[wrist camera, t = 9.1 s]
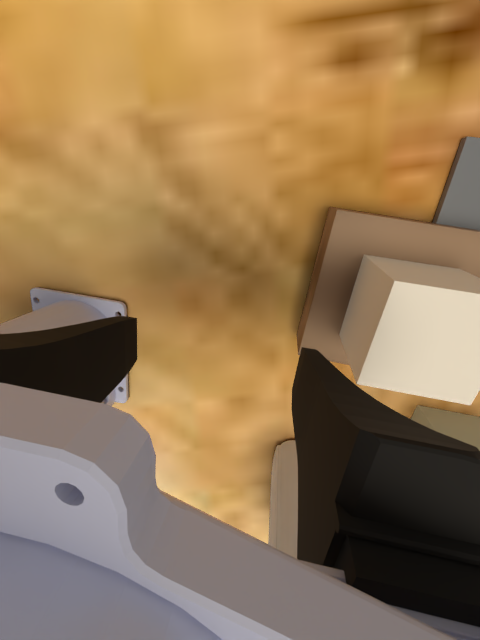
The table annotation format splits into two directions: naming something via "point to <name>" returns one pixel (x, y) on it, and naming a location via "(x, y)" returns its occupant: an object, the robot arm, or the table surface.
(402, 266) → the cream cube
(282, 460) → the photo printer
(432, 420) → the sage cube
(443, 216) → the card
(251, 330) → the table surface
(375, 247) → the walnut base
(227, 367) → the table surface
